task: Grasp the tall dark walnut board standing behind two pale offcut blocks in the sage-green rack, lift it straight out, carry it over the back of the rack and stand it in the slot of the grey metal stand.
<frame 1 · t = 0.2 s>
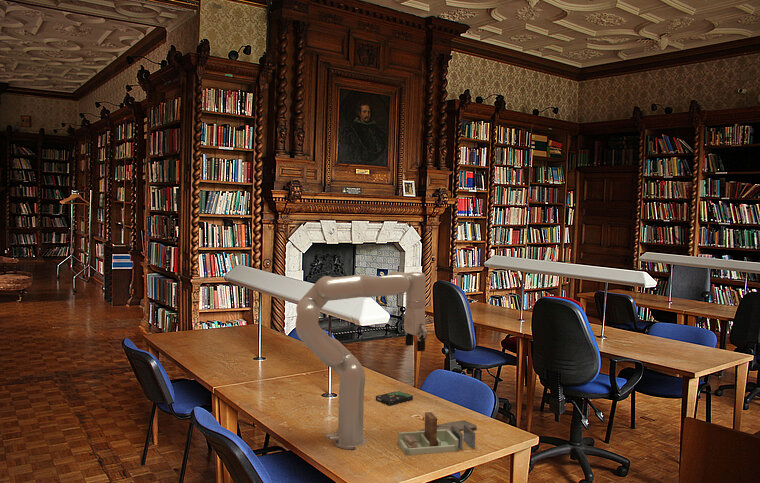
hand: (415, 348, 232), 36 cm above the table, tool pointing down, fingers open, 9 cm apart
stand: (462, 447, 227), on the table
disk drive: (394, 401, 282), on the table
offcut lower: (410, 448, 222), point 1 cm above the table, touching offcut upper, rack
offcut upper: (410, 442, 222), point 3 cm above the table, touching offcut lower
rack: (427, 450, 224), on the table
stone slab: (443, 434, 242), on the table
walnut board: (430, 446, 224), point 1 cm above the table, touching rack
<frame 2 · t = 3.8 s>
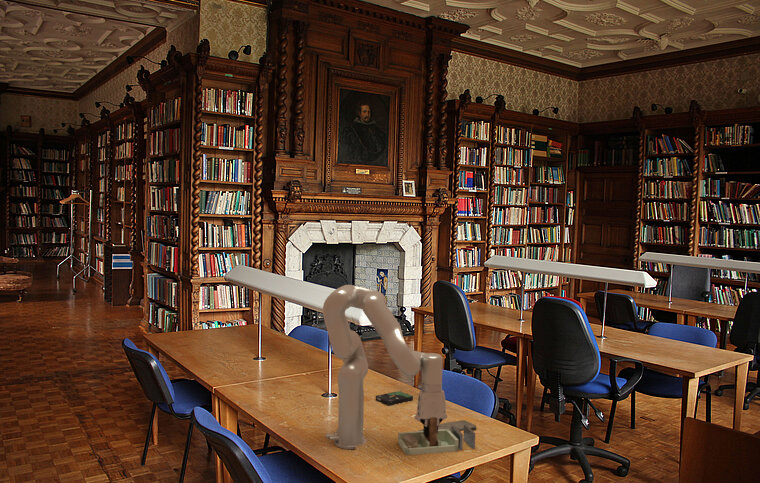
hand: (430, 435, 224), 6 cm above the table, tool pointing down, fingers closed on walnut board, 2 cm apart
walnut board: (430, 446, 224), point 1 cm above the table, touching gripper, rack
everything else where it was.
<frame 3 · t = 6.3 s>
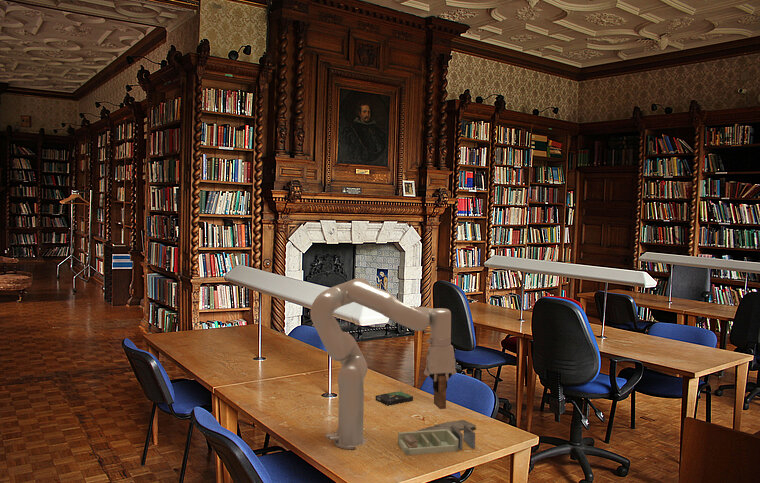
hand: (440, 390, 223), 23 cm above the table, tool pointing down, fingers closed on walnut board
walnut board: (439, 405, 224), point 17 cm above the table, touching gripper
everything else where it was.
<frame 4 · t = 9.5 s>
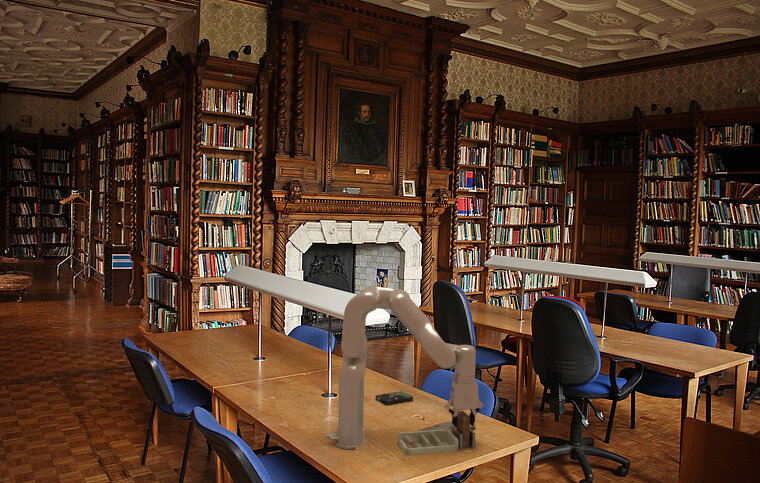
hand: (463, 424, 227), 9 cm above the table, tool pointing down, fingers open, 6 cm apart
walnut board: (462, 444, 227), point 1 cm above the table, touching stand
everything else where it was.
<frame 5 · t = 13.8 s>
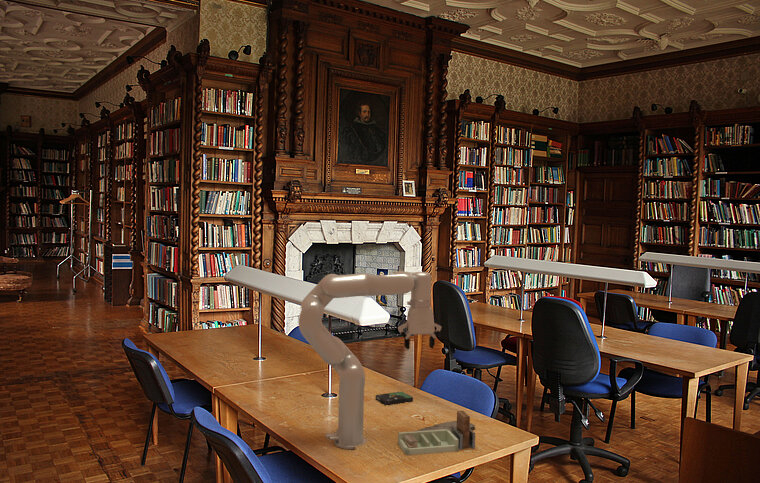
hand: (419, 348, 231), 36 cm above the table, tool pointing down, fingers open, 9 cm apart
nothing on the table moved.
at the end: walnut board 0.1 cm off-centre on the stand, point 1.0 cm above the stand's base; walnut board tilted 0°; the gripper is holding nothing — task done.
